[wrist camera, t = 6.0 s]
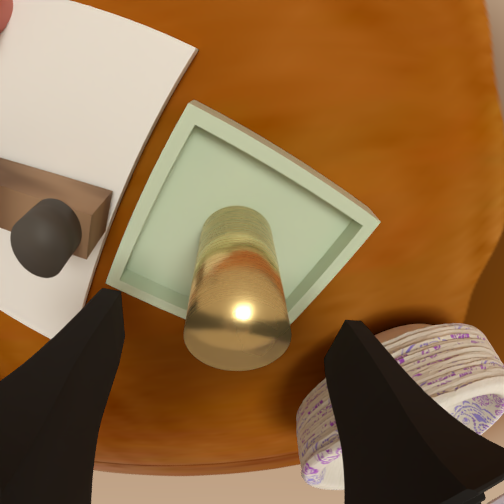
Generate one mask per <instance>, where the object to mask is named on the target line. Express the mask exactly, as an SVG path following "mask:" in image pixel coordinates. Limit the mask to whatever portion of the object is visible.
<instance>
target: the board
mask: <svg viewBox="0 0 504 504" xmlns="http://www.w3.org/2000/svg"><path fill="white" fill-rule="evenodd" d="M197 52H198V49H197V48H195V47H193V46H191V45H188V44H186V43H184V42H182V41H180V40H178V39H175V38H173V37H171V36H169V35H166V34H164V33H162V32H159V31H157V30H154V29H152V28H150V27H147V26H145V25H142V24H140V23H137V22H134V21H132V20H129V19H126V18H124V17H121V16H118V15H115V14H112V13H109V12H106V11H103V10H100V9H97V8H94V7H90V6H87V5H84V4H80V3H77V2H73V1H69V0H13V11H12V15H11V18H10V20H9V22H8V24H7V26H6V27H5V29H4V30H3V31H2V32H1V33H0V158H3V159H7V160H10V161H14V162H17V163H21V164H24V165H27V166H31V167H34V168H38V169H41V170H44V171H48V172H51V173H55V174H58V175H61V176H65V177H68V178H71V179H75V180H78V181H81V182H84V183H88V184H91V185H94V186H98V187H101V188H104V189H107V190H111V191H113V192H112V197H111V202H110V208H109V213H108V219H107V225H106V231H105V233H104V234H103V236H102V237H101V238H100V240H99V241H98V243H97V244H96V246H95V247H94V249H93V250H92V252H91V254H90V255H89V257H88V258H87V260H86V259H83V258H80V257H77V256H75V255H72V256H71V257H70V258H69V260H68V261H67V263H66V264H65V266H64V267H63V269H62V270H61V271H60V273H59V274H58V275H56V276H54V277H51V278H42V277H38V276H36V275H34V274H32V273H30V272H29V271H27V270H26V269H25V268H24V267H23V266H22V265H21V264H20V262H19V261H18V260H17V258H16V256H15V255H14V252H13V250H12V247H11V241H10V235H11V232H10V231H7V230H5V229H2V228H0V310H1V311H3V312H4V313H6V314H8V315H9V316H11V317H12V318H14V319H16V320H18V321H19V322H21V323H23V324H24V325H26V326H28V327H30V328H31V329H33V330H35V331H37V332H39V333H41V334H42V335H44V336H46V337H48V338H50V339H52V338H53V337H54V336H55V335H56V334H57V333H58V332H59V331H60V330H61V329H62V328H63V327H64V326H65V325H66V324H67V323H68V322H69V321H70V320H71V319H72V318H73V317H74V316H75V315H76V314H77V313H78V312H79V311H80V310H81V309H82V308H83V307H84V306H85V303H86V299H87V296H88V293H89V289H90V286H91V283H92V279H93V276H94V273H95V270H96V267H97V264H98V261H99V258H100V255H101V252H102V249H103V246H104V244H105V241H106V238H107V235H108V233H109V230H110V227H111V225H112V222H113V219H114V217H115V214H116V212H117V209H118V207H119V204H120V202H121V199H122V197H123V194H124V192H125V190H126V187H127V185H128V183H129V180H130V178H131V176H132V174H133V171H134V169H135V167H136V165H137V163H138V160H139V158H140V156H141V154H142V152H143V150H144V148H145V146H146V144H147V141H148V139H149V137H150V135H151V133H152V131H153V129H154V127H155V126H156V124H157V122H158V120H159V118H160V116H161V114H162V112H163V110H164V108H165V107H166V105H167V103H168V101H169V99H170V97H171V96H172V94H173V92H174V90H175V89H176V87H177V85H178V83H179V82H180V80H181V78H182V76H183V75H184V73H185V71H186V70H187V68H188V66H189V65H190V63H191V62H192V60H193V58H194V57H195V55H196V54H197Z"/></svg>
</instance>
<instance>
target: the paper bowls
mask: <svg viewBox="0 0 504 504" xmlns="http://www.w3.org/2000/svg"><path fill="white" fill-rule="evenodd" d="M374 336H375V337H376V338H377V339H378V340H379V341H380V343H381V344H382V345H383V346H384V347H385V348H386V350H387V351H388V352H389V353H390V354H391V355H392V356H393V358H394V359H395V360H396V361H397V362H398V363H399V364H400V366H401V367H402V368H403V369H404V370H405V371H406V372H407V373H408V374H409V376H410V377H411V378H412V379H413V380H414V381H415V382H416V383H417V384H418V385H419V386H420V387H421V388H422V389H423V390H424V391H425V392H426V393H427V394H428V395H429V396H430V397H431V398H432V399H433V400H434V401H436V402H437V403H438V404H439V405H440V406H441V407H442V408H443V409H445V410H446V411H447V412H448V413H449V414H451V415H452V416H453V417H455V418H456V419H457V420H459V421H460V422H461V423H463V424H464V425H465V426H467V427H468V428H470V429H471V430H473V431H474V432H476V433H477V434H479V435H481V434H483V433H484V432H485V431H486V430H487V429H488V428H490V427H491V426H492V425H493V424H494V423H495V422H496V421H497V420H498V419H499V418H500V417H501V415H502V414H503V413H504V365H503V363H502V362H501V361H500V359H499V357H498V355H497V354H496V352H495V351H494V349H493V348H492V346H491V344H490V343H489V342H488V340H487V338H486V337H485V335H484V334H483V333H482V332H481V331H480V330H478V329H477V328H476V327H473V326H471V325H467V324H462V323H452V324H440V325H428V324H409V325H404V326H399V327H395V328H392V329H389V330H386V331H383V332H381V333H379V334H376V335H374ZM296 421H297V426H296V431H297V439H298V441H297V442H298V449H299V457H300V463H301V469H302V470H301V474H302V477H303V479H304V481H305V482H306V483H308V484H309V485H311V486H313V487H316V488H320V489H328V490H345V489H344V470H343V459H342V450H341V444H340V438H339V434H338V430H337V426H336V422H335V417H334V413H333V409H332V405H331V401H330V397H329V393H328V388H327V383H326V378H325V379H324V380H323V381H322V382H321V383H319V384H318V385H317V387H315V388H314V389H313V390H312V391H311V392H310V393H309V394H308V395H307V397H306V398H305V399H304V400H303V402H302V404H301V405H300V407H299V410H298V412H297V415H296Z"/></svg>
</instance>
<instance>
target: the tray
mask: <svg viewBox="0 0 504 504" xmlns="http://www.w3.org/2000/svg"><path fill="white" fill-rule="evenodd" d="M228 206H245V207H249V208H252V209H254V210H256V211H257V212H259V213H260V214H261V215H263V216H264V217H265V219H266V220H267V221H268V223H269V225H270V227H271V231H272V236H273V241H274V245H275V250H276V255H277V260H278V265H279V271H280V276H281V281H282V286H283V291H284V296H285V301H286V307H287V312H288V317H289V323H290V324H291V323H292V322H293V321H294V320H295V319H296V318H297V317H298V316H299V315H300V314H301V313H302V312H303V311H304V310H305V308H306V307H307V306H308V305H309V304H310V303H311V302H312V301H313V300H314V299H315V298H316V297H317V295H318V294H319V293H320V292H321V291H322V290H323V289H324V288H325V287H326V285H327V284H328V283H329V282H330V281H331V280H332V279H333V278H334V277H335V275H336V274H337V273H338V272H339V271H340V270H341V269H342V267H343V266H344V265H345V264H346V263H347V262H348V260H349V259H350V258H351V257H352V256H353V255H354V254H355V252H356V251H357V250H358V249H359V248H360V246H361V245H362V244H363V243H364V242H365V240H366V239H367V238H368V237H369V236H370V234H371V233H372V232H373V231H374V230H375V228H376V227H377V226H378V225H379V224H380V221H379V219H378V218H377V217H376V216H375V215H374V213H373V212H372V211H371V210H370V209H369V207H367V206H366V205H364V204H363V203H362V202H360V201H359V200H358V199H356V198H355V197H353V196H352V195H351V194H349V193H348V192H346V191H345V190H343V189H342V188H341V187H339V186H338V185H336V184H335V183H333V182H332V181H330V180H329V179H327V178H326V177H324V176H323V175H321V174H320V173H318V172H317V171H315V170H314V169H312V168H311V167H309V166H308V165H306V164H305V163H303V162H302V161H300V160H298V159H297V158H295V157H294V156H292V155H291V154H289V153H287V152H286V151H284V150H283V149H281V148H279V147H278V146H276V145H274V144H273V143H271V142H269V141H268V140H266V139H264V138H263V137H261V136H259V135H258V134H256V133H254V132H253V131H251V130H249V129H247V128H246V127H244V126H242V125H240V124H239V123H237V122H235V121H233V120H231V119H230V118H228V117H226V116H224V115H222V114H221V113H219V112H217V111H215V110H213V109H211V108H209V107H208V106H206V105H204V104H202V103H200V102H198V101H196V100H193V101H191V102H189V103H188V105H187V107H186V108H185V110H184V112H183V114H182V115H181V117H180V119H179V121H178V123H177V124H176V126H175V128H174V130H173V132H172V134H171V136H170V137H169V139H168V141H167V143H166V145H165V147H164V149H163V151H162V153H161V155H160V157H159V159H158V161H157V163H156V165H155V167H154V169H153V171H152V173H151V175H150V177H149V179H148V181H147V183H146V186H145V188H144V190H143V192H142V194H141V196H140V199H139V201H138V203H137V205H136V208H135V210H134V212H133V214H132V217H131V219H130V221H129V224H128V226H127V229H126V231H125V233H124V236H123V238H122V241H121V243H120V246H119V248H118V251H117V253H116V256H115V258H114V261H113V264H112V266H111V269H110V272H109V274H108V277H107V280H106V284H108V285H110V286H112V287H114V288H116V289H118V290H121V291H123V292H125V293H127V294H129V295H131V296H133V297H136V298H138V299H140V300H142V301H144V302H147V303H149V304H151V305H153V306H156V307H158V308H160V309H162V310H165V311H167V312H169V313H172V314H174V315H176V316H179V317H181V318H183V319H186V315H187V309H188V303H189V297H190V291H191V285H192V279H193V273H194V268H195V262H196V257H197V252H198V246H199V241H200V236H201V231H202V227H203V225H204V223H205V221H206V220H207V219H208V217H209V216H210V215H211V214H213V213H214V212H216V211H217V210H219V209H222V208H224V207H228Z"/></svg>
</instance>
